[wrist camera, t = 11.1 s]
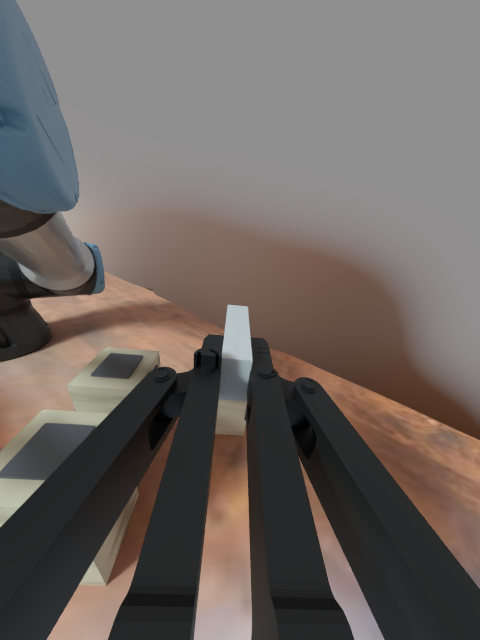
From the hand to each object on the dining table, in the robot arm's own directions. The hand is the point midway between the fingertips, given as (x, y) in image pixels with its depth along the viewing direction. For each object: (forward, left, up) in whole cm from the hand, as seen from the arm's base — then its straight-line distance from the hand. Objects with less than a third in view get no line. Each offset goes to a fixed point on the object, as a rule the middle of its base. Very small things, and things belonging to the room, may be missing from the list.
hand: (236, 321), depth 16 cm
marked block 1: (-6, -13, -24) cm, 28 cm away
